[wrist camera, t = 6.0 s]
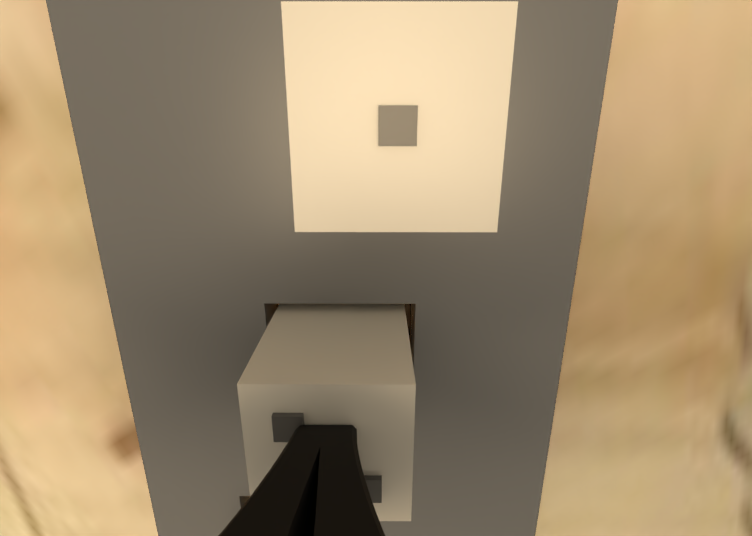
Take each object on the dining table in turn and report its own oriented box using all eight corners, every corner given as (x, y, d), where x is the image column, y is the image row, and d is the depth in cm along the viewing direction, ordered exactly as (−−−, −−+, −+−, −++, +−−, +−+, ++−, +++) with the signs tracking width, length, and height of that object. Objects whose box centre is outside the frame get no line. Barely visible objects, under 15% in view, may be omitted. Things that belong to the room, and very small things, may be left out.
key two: (403, 297, 15) (416, 388, 10) (401, 400, 16) (411, 526, 11) (282, 297, 15) (234, 388, 10) (290, 400, 16) (251, 525, 11)
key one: (463, 46, 12) (521, -1, 7) (455, 191, 13) (498, 234, 9) (318, 46, 12) (278, -1, 7) (323, 191, 13) (293, 233, 9)
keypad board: (593, -13, 12) (622, -31, 11) (512, 573, 19) (523, 610, 18) (79, -13, 12) (39, -31, 11) (188, 571, 19) (173, 608, 18)
